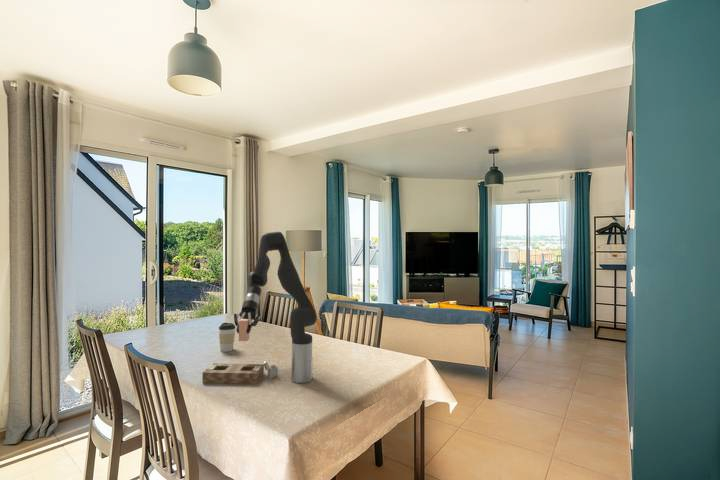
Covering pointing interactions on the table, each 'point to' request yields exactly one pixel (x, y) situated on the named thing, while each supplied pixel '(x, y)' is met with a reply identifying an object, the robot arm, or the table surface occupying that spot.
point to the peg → (243, 329)
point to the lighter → (271, 370)
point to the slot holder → (233, 373)
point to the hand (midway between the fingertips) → (242, 332)
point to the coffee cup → (226, 336)
